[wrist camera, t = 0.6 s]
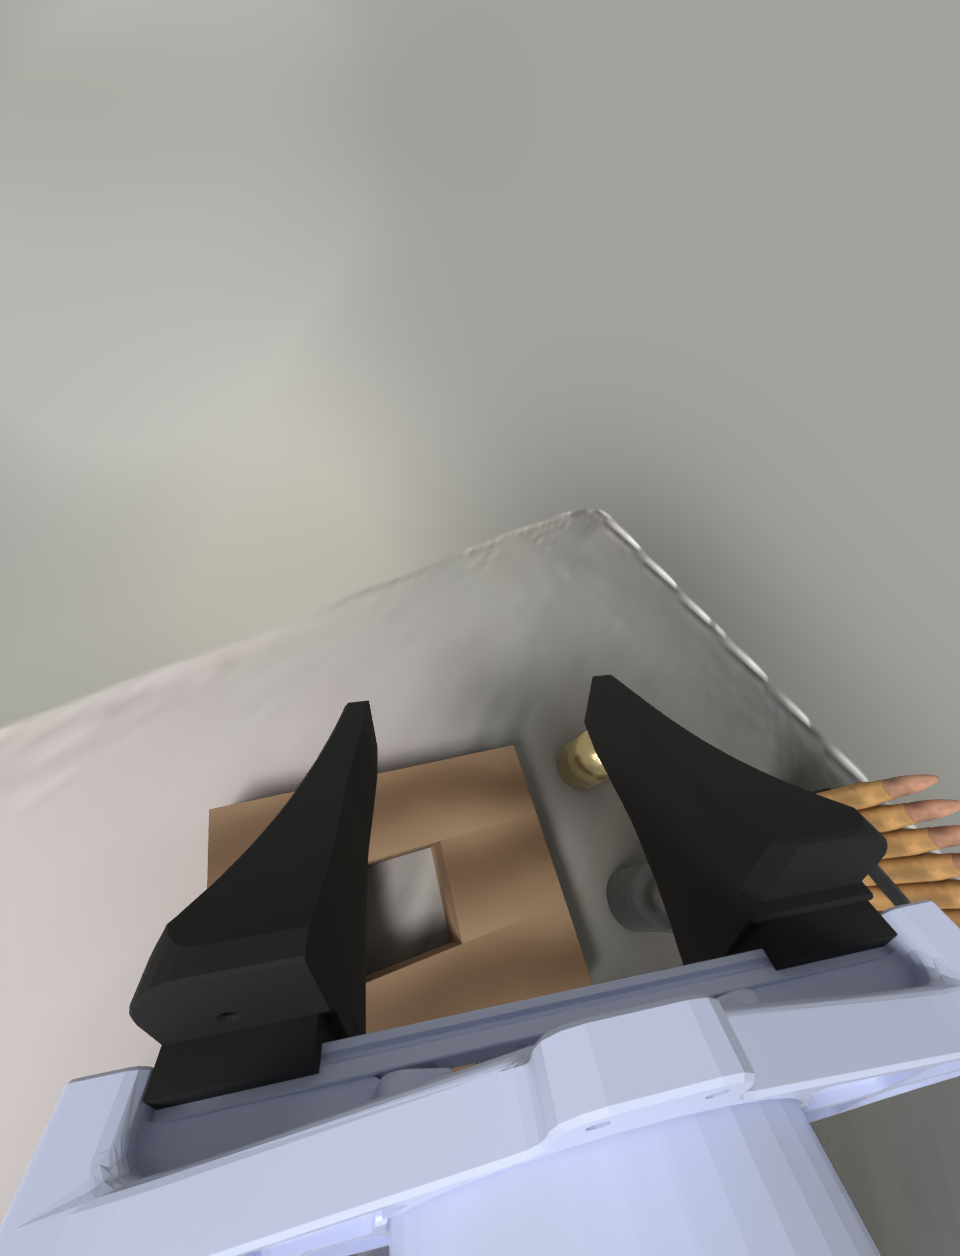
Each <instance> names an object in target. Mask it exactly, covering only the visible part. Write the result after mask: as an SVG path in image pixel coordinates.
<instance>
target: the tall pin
mask: <svg viewBox="0 0 960 1256" xmlns="http://www.w3.org/2000/svg"><path fill="white" fill-rule="evenodd" d="M607 900H608V904H609V907H610V910H611V912H612V914H613V916H614V917H615V919H616V920H617V921H618V922H619V923H620V924H621V925H622V926H623V927H624V928H626V929H628V930H630V931H637V932H673V931H672V927H671V924H670V921H669V918H668V915H667V913H666V910H665V907H664V904H663V901H662V898H661V895H660V893H659V890H658V887H657V884H656V881H655V879H654V876H653V874H652V871H651V868H650V866H649V863H647V864H642V865H636V866H631V867H625V868H620V869H618V870H616V871H615V872H614V873H613V874H612V875H611V877H610V878H609V881H608V885H607Z"/></svg>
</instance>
